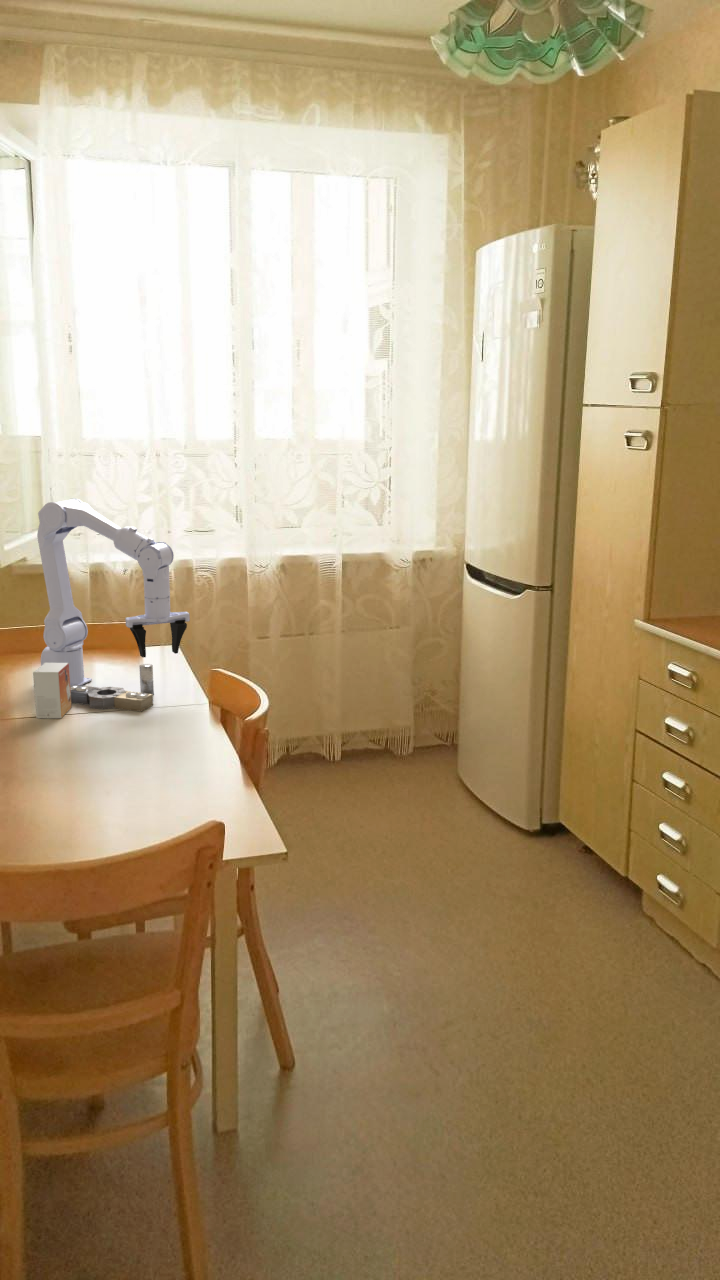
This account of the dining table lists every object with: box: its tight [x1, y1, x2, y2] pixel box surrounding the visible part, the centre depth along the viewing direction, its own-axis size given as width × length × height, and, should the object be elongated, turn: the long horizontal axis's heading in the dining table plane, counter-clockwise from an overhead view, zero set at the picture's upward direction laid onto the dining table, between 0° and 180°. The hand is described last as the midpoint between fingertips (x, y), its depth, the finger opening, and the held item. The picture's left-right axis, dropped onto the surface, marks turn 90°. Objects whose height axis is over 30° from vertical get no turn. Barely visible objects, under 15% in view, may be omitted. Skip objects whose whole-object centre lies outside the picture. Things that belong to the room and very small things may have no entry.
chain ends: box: [70, 685, 154, 713], centre depth 230 cm, size 21×8×3 cm, turn 71°
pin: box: [139, 663, 155, 696], centre depth 236 cm, size 3×3×7 cm
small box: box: [32, 663, 72, 719], centre depth 222 cm, size 8×6×10 cm
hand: (159, 654), depth 234 cm, fingers open, 7 cm apart
